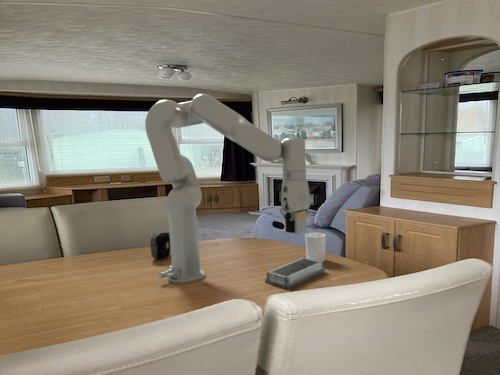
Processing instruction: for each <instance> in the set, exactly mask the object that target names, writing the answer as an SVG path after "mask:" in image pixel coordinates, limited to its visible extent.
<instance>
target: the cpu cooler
mask: <svg viewBox="0 0 500 375" xmlns="http://www.w3.org/2000/svg"><path fill="white" fill-rule="evenodd" d="M149 244H150V253H151V254H150V255H151V257H152V258H153V259H157V260H166V259H167V258H168V257H169V256H170V255H171V244H170V232H160V233H153V234H152V236H151V238H150V243H149Z"/></svg>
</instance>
